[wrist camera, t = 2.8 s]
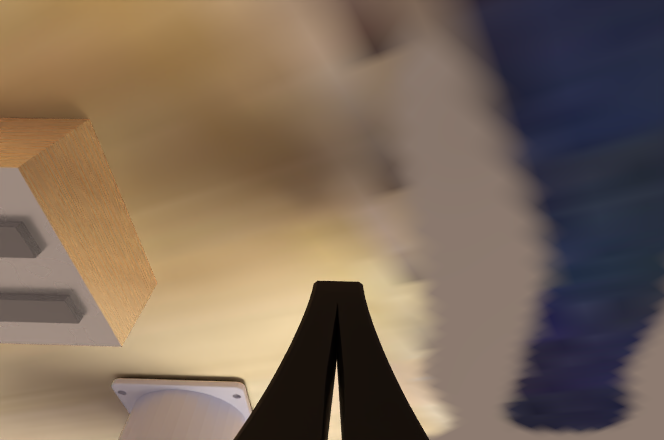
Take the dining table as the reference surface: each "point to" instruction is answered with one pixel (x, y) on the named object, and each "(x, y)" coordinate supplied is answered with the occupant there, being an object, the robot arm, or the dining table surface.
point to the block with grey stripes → (65, 239)
